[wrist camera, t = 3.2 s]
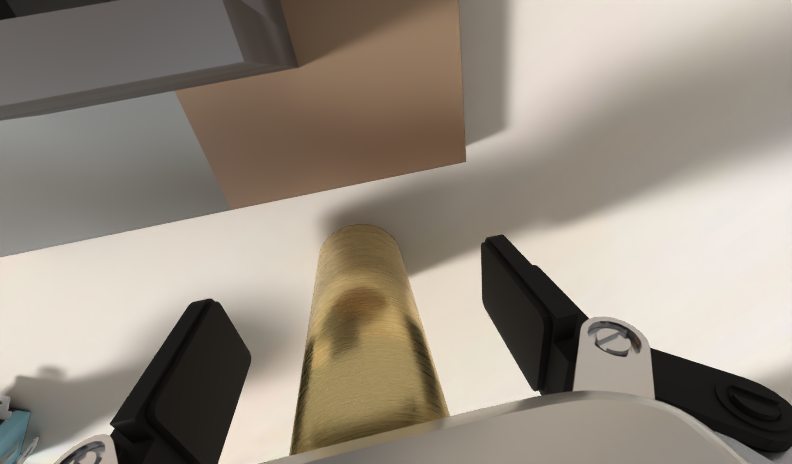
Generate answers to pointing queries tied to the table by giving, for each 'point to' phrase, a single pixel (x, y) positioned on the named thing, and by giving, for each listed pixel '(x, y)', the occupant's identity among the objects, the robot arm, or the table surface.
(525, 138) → the table surface
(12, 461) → the push button
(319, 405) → the hinge pin
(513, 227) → the table surface
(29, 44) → the base with square socket
